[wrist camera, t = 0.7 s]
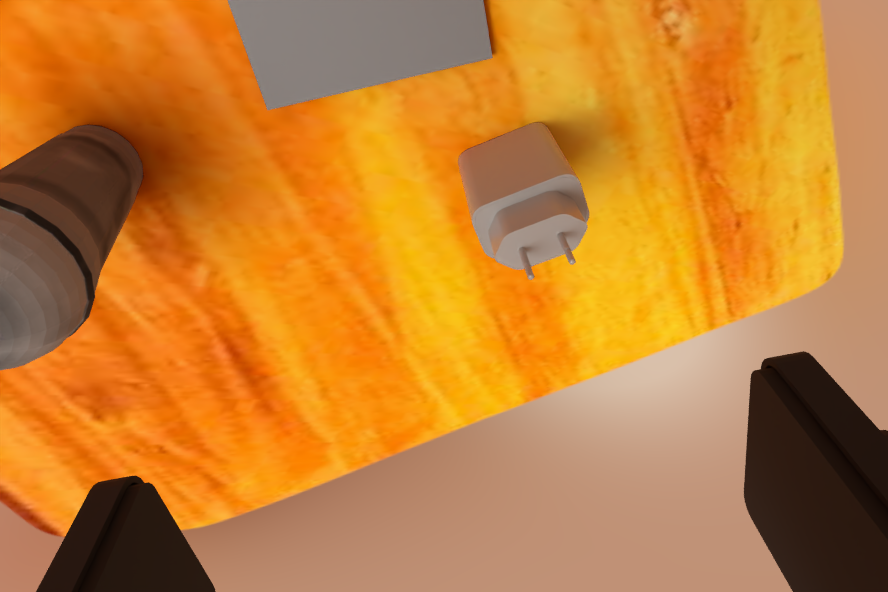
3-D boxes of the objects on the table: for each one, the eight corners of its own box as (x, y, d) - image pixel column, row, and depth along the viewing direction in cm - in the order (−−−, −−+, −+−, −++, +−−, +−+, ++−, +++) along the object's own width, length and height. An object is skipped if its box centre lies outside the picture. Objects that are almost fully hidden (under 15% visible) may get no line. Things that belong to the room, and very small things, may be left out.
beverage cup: (79, 239, 38) (-151, 531, 22) (-4, 124, 34) (-363, 373, 18) (194, 202, 38) (44, 475, 21) (122, 79, 34) (-131, 297, 17)
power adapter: (560, 166, 38) (622, 276, 28) (472, 200, 39) (503, 319, 29) (545, 117, 37) (605, 216, 27) (454, 154, 37) (479, 264, 27)
